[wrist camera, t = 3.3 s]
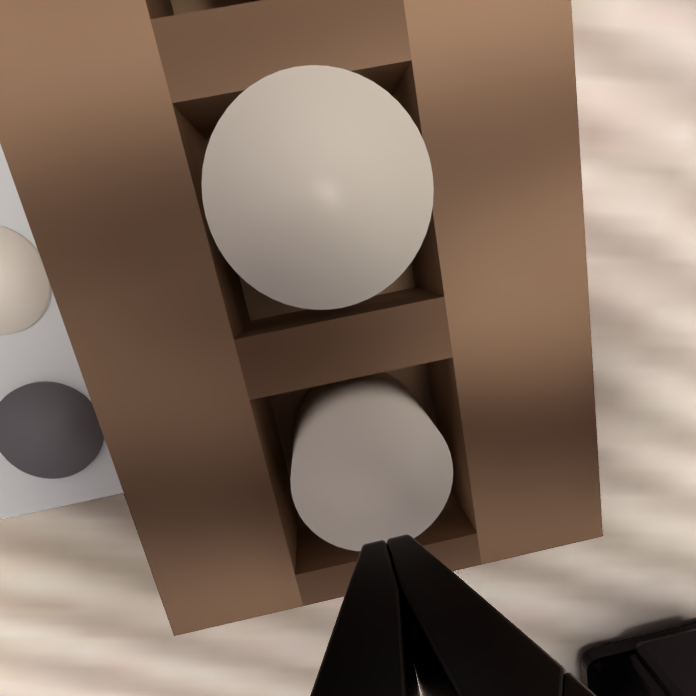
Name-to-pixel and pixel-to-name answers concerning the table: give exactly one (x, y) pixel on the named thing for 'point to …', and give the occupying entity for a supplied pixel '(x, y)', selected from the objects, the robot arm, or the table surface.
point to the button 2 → (367, 462)
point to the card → (41, 385)
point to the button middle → (317, 187)
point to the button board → (299, 323)
